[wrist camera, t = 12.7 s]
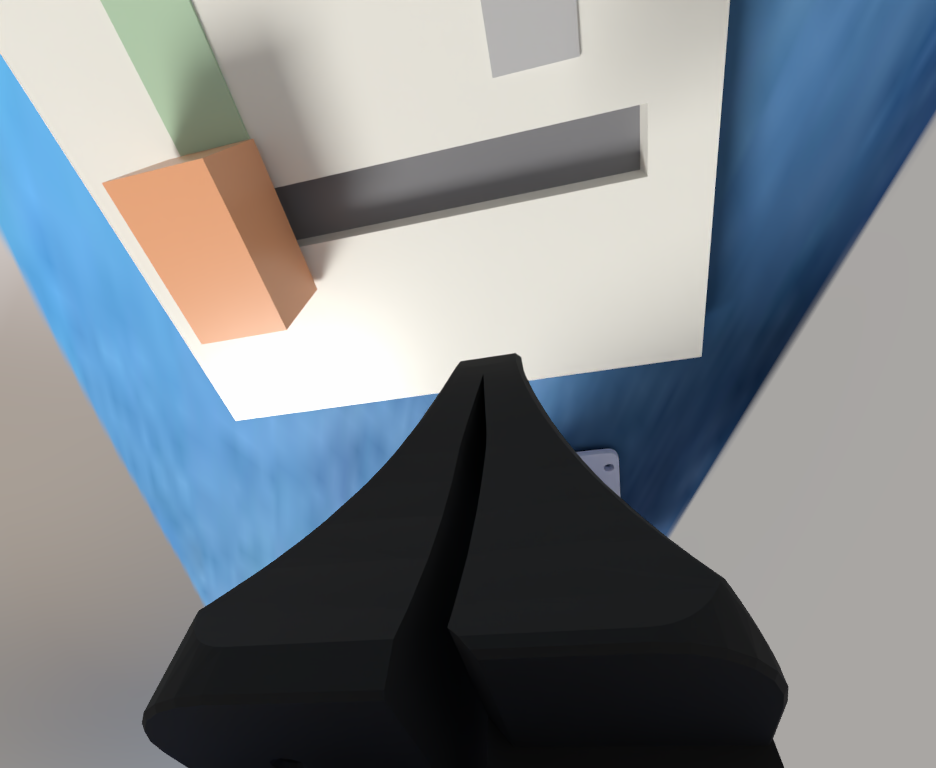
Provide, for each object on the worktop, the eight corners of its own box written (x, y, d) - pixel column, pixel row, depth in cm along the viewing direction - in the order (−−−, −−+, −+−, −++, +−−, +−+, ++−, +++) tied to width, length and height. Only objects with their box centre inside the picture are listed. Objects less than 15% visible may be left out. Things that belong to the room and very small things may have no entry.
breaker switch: (325, 278, 18) (286, 330, 15) (254, 291, 18) (201, 344, 15) (266, 133, 15) (202, 158, 12) (184, 154, 16) (101, 182, 12)
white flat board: (685, 330, 20) (702, 358, 18) (254, 394, 23) (234, 422, 22) (718, -276, 11) (758, -335, 9) (7, -27, 14) (-60, -36, 13)
